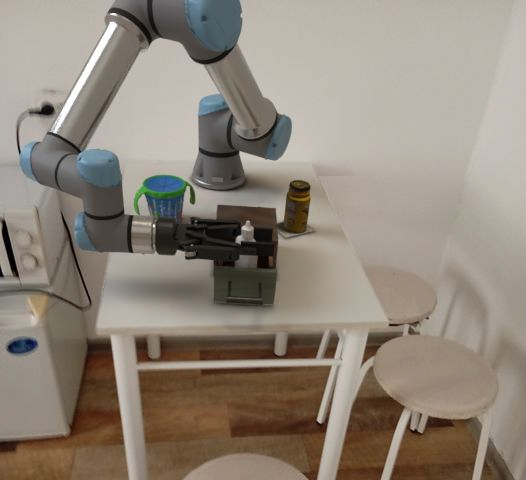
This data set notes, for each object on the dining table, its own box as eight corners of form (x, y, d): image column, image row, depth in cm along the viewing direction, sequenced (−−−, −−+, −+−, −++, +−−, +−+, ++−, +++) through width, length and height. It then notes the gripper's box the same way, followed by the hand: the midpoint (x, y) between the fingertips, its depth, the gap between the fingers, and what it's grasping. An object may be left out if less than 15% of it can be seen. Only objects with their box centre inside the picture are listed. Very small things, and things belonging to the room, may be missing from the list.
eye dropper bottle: (235, 281, 114) (237, 228, 106) (233, 266, 118) (236, 214, 111) (256, 281, 115) (260, 228, 107) (254, 266, 119) (257, 215, 111)
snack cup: (141, 235, 134) (138, 196, 128) (130, 216, 141) (126, 177, 135) (202, 226, 140) (202, 188, 133) (188, 208, 147) (188, 171, 141)
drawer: (274, 324, 109) (278, 291, 104) (211, 321, 109) (212, 288, 104) (271, 267, 126) (274, 236, 121) (216, 264, 125) (217, 233, 120)
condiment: (313, 231, 142) (319, 186, 135) (286, 238, 138) (291, 192, 131) (296, 219, 147) (301, 175, 139) (270, 226, 143) (274, 181, 135)
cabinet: (274, 279, 124) (278, 240, 118) (213, 275, 123) (214, 236, 117) (272, 244, 136) (275, 207, 129) (216, 241, 135) (217, 204, 129)
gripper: (163, 230, 120) (270, 236, 121) (151, 276, 106) (272, 282, 107) (161, 197, 115) (273, 204, 117) (149, 241, 101) (276, 248, 102)
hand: (272, 242), depth 112 cm, fingers closed on eye dropper bottle, 5 cm apart
